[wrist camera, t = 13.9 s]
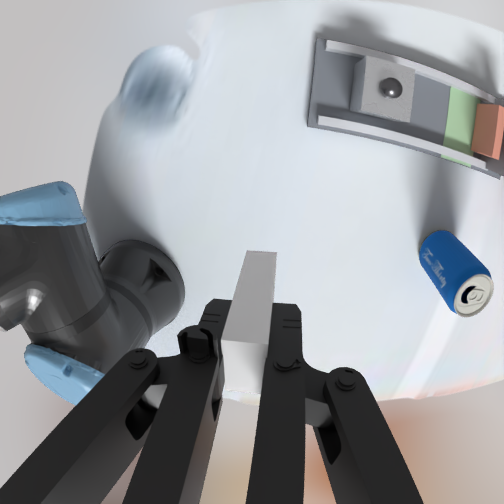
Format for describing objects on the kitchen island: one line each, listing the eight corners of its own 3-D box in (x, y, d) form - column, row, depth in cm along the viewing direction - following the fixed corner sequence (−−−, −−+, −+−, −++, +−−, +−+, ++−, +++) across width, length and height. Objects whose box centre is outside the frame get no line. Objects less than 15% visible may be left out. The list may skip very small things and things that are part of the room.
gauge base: (307, 126, 32) (310, 129, 24) (316, 40, 27) (322, 19, 19) (495, 177, 29) (529, 194, 22) (506, 105, 24) (542, 109, 17)
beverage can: (425, 224, 34) (465, 267, 24) (460, 232, 34) (504, 274, 23) (411, 266, 37) (442, 318, 27) (446, 272, 37) (481, 321, 26)
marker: (470, 150, 27) (491, 157, 23) (477, 103, 25) (499, 104, 20) (477, 152, 27) (498, 160, 23) (483, 106, 24) (505, 108, 20)
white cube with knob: (349, 111, 29) (363, 109, 22) (354, 65, 26) (369, 53, 20) (390, 120, 28) (413, 122, 22) (396, 75, 26) (419, 68, 19)
